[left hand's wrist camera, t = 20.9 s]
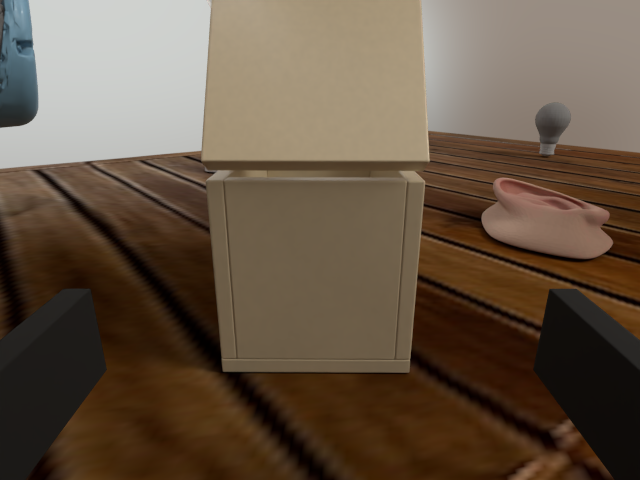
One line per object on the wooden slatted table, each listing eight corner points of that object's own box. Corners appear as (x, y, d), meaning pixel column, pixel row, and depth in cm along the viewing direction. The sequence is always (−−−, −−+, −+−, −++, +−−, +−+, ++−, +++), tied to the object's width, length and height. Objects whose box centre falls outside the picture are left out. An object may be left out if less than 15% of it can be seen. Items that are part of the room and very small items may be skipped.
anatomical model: (637, 218, 33) (479, 203, 38) (625, 266, 35) (473, 246, 39) (607, 183, 45) (488, 174, 49) (598, 220, 46) (483, 208, 50)
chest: (262, 257, 37) (256, 137, 34) (375, 257, 37) (380, 137, 34) (222, 372, 22) (205, 180, 19) (409, 373, 22) (425, 180, 19)
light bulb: (535, 158, 83) (544, 103, 80) (525, 153, 89) (533, 101, 85) (568, 158, 83) (579, 103, 79) (556, 153, 88) (565, 101, 85)
